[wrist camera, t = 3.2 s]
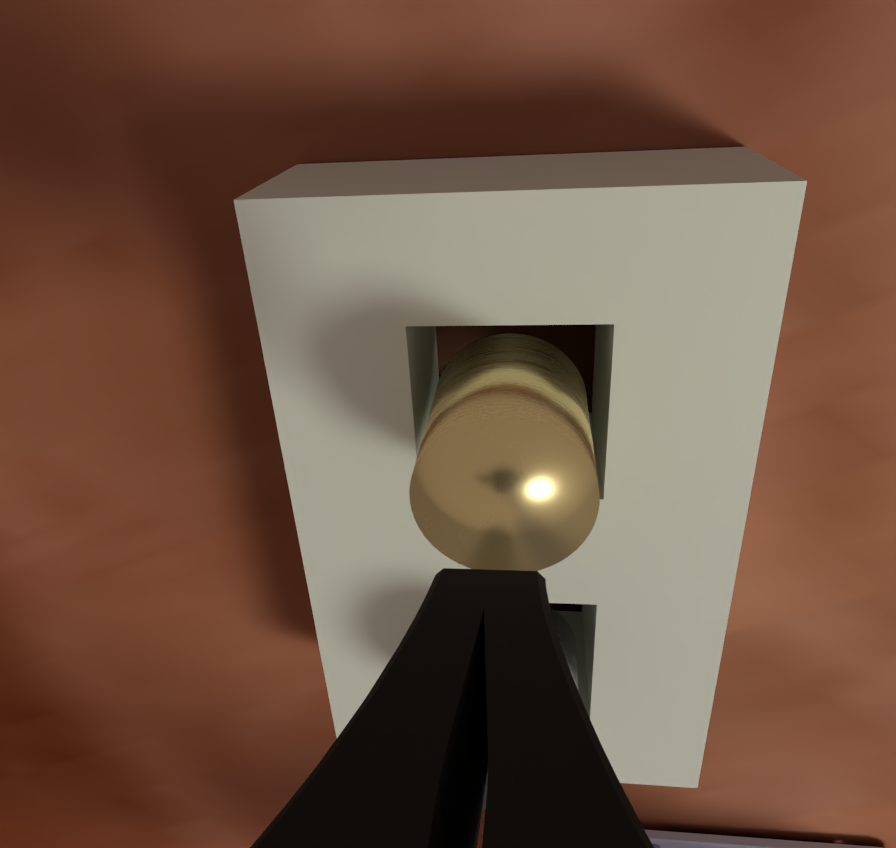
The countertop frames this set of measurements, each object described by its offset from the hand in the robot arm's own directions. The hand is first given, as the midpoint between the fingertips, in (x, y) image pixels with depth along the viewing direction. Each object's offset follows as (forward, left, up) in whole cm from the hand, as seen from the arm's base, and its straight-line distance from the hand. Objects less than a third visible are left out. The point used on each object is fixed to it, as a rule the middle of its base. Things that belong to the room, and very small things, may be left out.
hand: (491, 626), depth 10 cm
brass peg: (0, 0, -7) cm, 7 cm away
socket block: (0, +4, -10) cm, 11 cm away
